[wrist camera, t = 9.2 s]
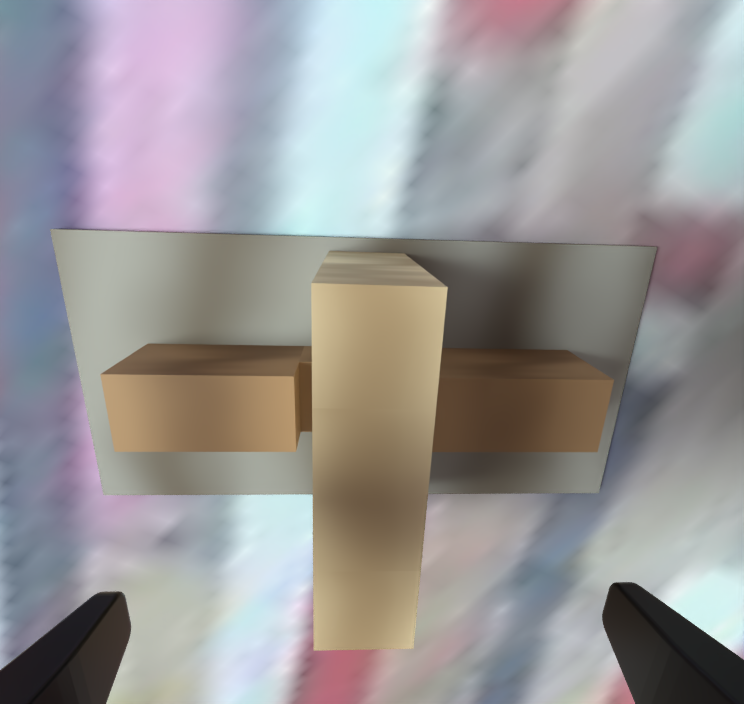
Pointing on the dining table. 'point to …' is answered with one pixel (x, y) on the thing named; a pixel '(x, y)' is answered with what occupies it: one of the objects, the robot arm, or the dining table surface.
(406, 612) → the birch plate
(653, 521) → the dining table surface
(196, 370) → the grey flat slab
